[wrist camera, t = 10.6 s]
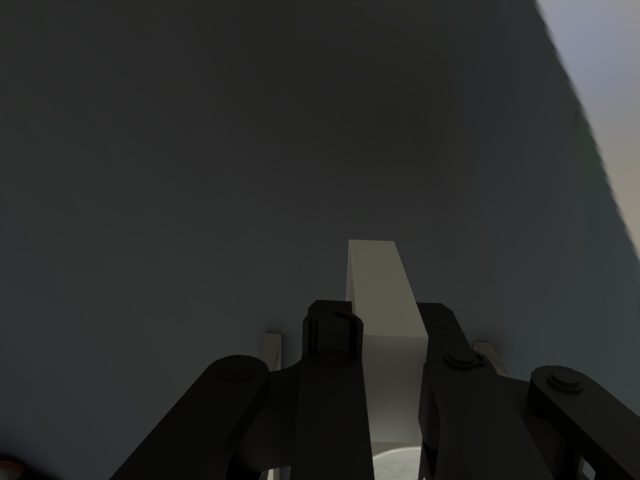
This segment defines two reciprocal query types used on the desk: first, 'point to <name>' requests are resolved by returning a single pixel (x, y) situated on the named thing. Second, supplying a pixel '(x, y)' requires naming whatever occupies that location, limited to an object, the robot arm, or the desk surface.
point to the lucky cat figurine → (14, 471)
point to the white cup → (396, 459)
